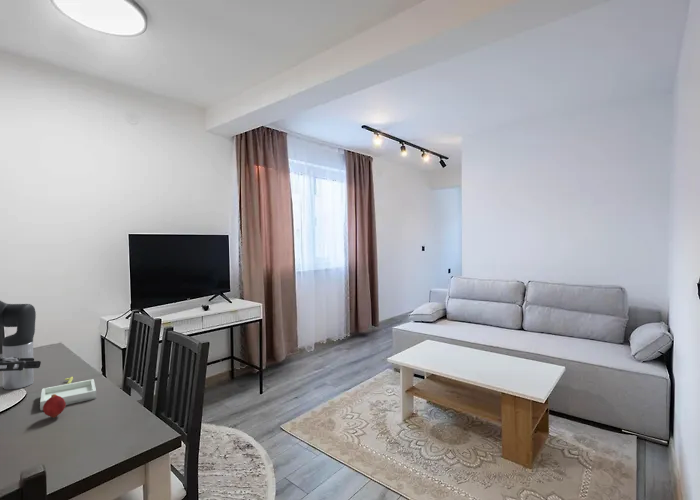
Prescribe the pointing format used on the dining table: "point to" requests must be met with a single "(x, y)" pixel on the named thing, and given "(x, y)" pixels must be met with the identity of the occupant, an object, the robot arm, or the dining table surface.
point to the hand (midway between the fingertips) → (36, 362)
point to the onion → (54, 406)
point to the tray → (70, 392)
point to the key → (69, 380)
